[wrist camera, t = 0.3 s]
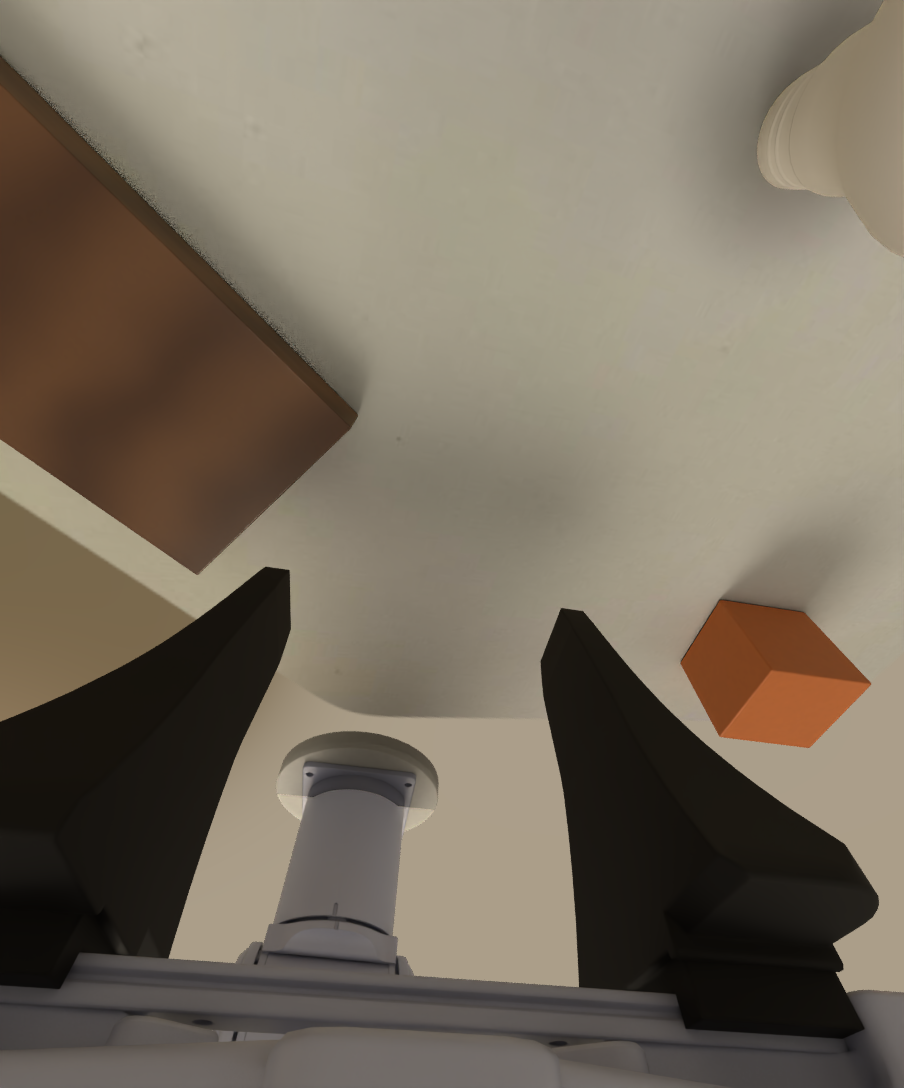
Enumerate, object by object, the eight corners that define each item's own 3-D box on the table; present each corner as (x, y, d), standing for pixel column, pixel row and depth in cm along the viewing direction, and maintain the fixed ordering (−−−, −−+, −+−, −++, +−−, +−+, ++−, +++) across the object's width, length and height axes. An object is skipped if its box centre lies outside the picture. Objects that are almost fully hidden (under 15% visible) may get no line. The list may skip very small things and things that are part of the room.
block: (757, 673, 26) (809, 748, 22) (679, 663, 25) (719, 737, 21) (805, 612, 23) (873, 684, 19) (719, 599, 23) (772, 670, 19)
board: (359, 415, 18) (351, 428, 17) (212, 556, 22) (197, 575, 20) (-335, -282, 10) (-449, -357, 9) (-383, 128, 14) (-468, 116, 12)
